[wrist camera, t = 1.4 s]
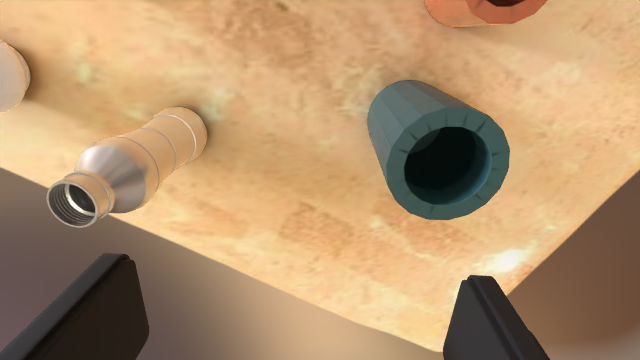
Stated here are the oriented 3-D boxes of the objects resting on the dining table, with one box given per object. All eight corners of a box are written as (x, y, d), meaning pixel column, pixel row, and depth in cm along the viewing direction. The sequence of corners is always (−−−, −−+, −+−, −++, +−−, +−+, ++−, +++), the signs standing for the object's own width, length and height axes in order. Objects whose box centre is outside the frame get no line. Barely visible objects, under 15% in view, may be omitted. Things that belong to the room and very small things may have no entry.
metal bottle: (214, 109, 41) (116, 170, 22) (210, 160, 43) (119, 252, 25) (161, 97, 40) (17, 150, 22) (160, 150, 43) (32, 235, 25)
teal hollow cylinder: (369, 79, 39) (391, 106, 24) (451, 80, 38) (524, 109, 24) (364, 154, 42) (380, 218, 28) (438, 156, 42) (495, 221, 27)
